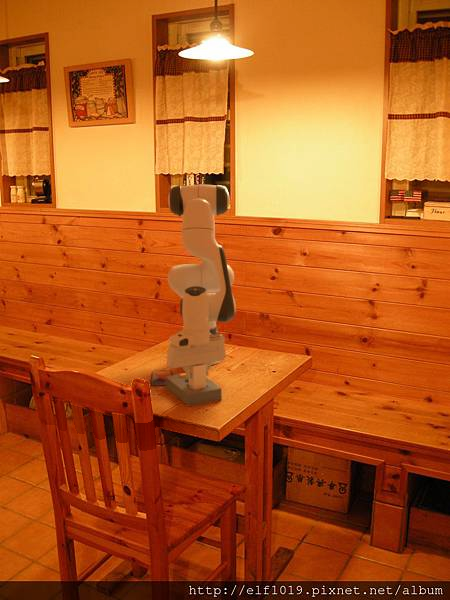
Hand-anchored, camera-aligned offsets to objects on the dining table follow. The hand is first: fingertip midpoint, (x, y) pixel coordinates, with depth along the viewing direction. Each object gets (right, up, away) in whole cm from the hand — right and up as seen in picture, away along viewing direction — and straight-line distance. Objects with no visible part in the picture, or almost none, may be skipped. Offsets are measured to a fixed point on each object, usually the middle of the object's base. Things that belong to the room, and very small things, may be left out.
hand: (197, 376), depth 207 cm
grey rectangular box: (-2, -6, +5) cm, 8 cm away
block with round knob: (0, -5, +1) cm, 5 cm away
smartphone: (-14, -4, +20) cm, 25 cm away
